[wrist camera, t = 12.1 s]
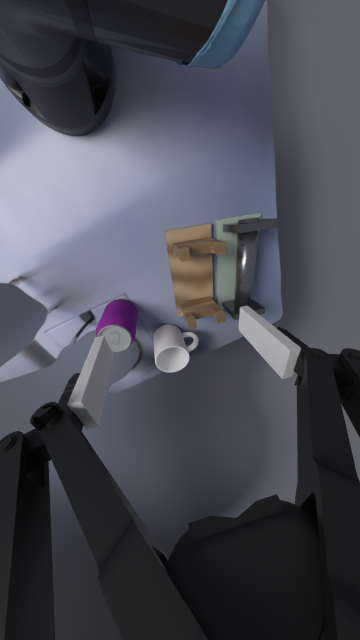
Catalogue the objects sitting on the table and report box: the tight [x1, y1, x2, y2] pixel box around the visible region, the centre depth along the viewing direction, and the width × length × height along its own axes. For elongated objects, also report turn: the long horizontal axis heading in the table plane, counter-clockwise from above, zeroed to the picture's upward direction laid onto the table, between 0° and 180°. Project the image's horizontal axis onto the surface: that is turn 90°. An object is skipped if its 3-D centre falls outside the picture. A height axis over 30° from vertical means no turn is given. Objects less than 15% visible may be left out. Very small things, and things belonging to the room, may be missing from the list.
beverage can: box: [96, 299, 137, 352], centre depth 38 cm, size 8×8×12 cm
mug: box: [153, 324, 199, 372], centre depth 45 cm, size 12×8×10 cm
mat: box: [216, 213, 261, 309], centre depth 42 cm, size 22×10×1 cm, turn 7°
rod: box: [222, 217, 279, 320], centre depth 39 cm, size 21×8×8 cm, turn 7°
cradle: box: [165, 224, 227, 329], centre depth 37 cm, size 21×10×11 cm, turn 7°
